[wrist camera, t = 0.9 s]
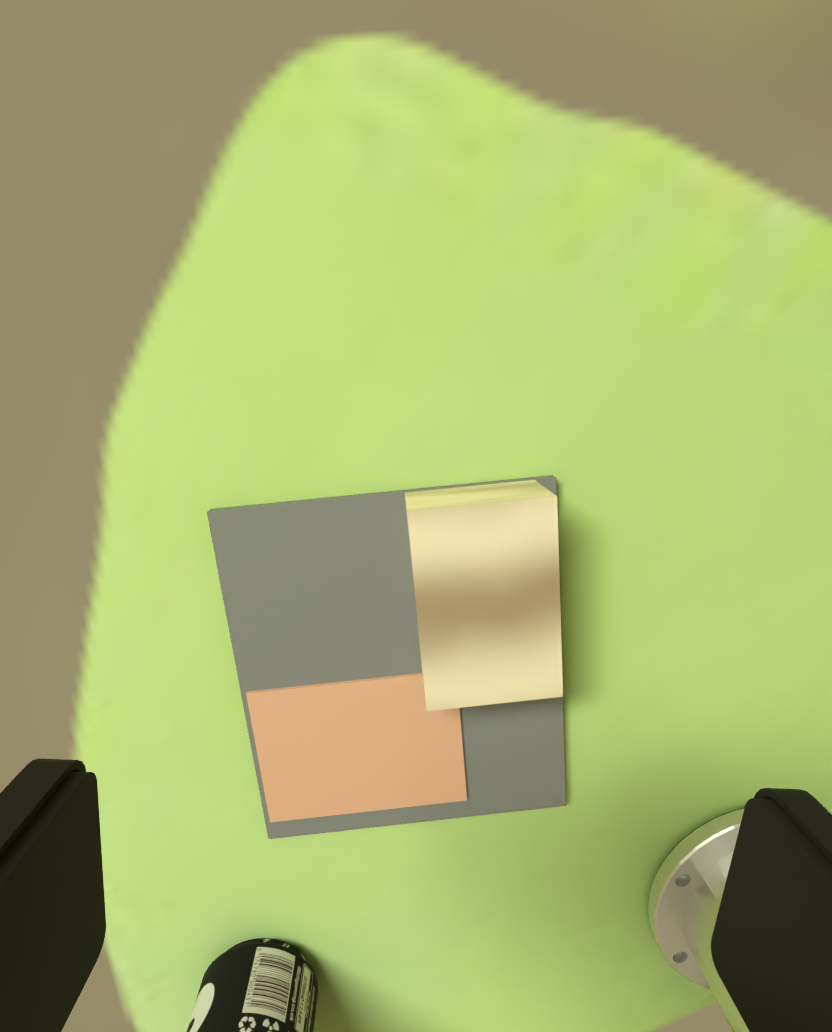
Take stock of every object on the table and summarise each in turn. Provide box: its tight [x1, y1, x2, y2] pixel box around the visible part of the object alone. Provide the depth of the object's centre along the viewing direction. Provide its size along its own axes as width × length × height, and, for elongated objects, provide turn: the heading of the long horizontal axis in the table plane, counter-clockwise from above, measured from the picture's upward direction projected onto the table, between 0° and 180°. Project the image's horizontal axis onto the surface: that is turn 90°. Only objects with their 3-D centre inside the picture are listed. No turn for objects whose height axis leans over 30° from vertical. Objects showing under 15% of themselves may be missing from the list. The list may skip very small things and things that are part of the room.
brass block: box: [405, 480, 563, 711], centre depth 25 cm, size 9×6×4 cm, turn 5°
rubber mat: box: [207, 475, 566, 839], centre depth 28 cm, size 18×16×1 cm
